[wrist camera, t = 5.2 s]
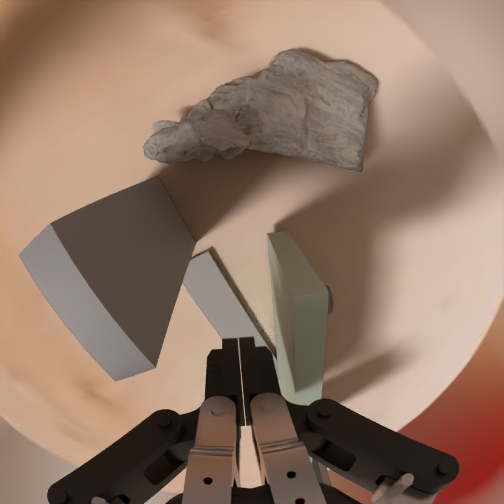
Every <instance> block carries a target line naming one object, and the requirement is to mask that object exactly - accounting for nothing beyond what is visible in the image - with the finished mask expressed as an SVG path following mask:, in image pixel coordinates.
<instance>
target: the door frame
mask: <svg viewBox="0 0 504 504" xmlns="http://www.w3.org/2000/svg"><path fill="white" fill-rule="evenodd" d="M195 245H196V241H195V240H194V238H193V236H192V235H191V233H190V231H189V229H188V228H187V226H186V224H185V223H184V221H183V219H182V218H181V216H180V214H179V212H178V211H177V209H176V207H175V206H174V204H173V202H172V200H171V199H170V197H169V195H168V193H167V192H166V190H165V188H164V186H163V184H162V183H161V181H160V179H159V177H158V176H157V177H155V178H152V179H149V180H147V181H144V182H141V183H139V184H136V185H134V186H131V187H129V188H126V189H124V190H121V191H119V192H116V193H114V194H112V195H109V196H107V197H105V198H102V199H100V200H98V201H96V202H93V203H91V204H89V205H87V206H85V207H83V208H80V209H78V210H76V211H74V212H72V213H70V214H68V215H66V216H64V217H62V218H60V219H58V220H56V221H54V222H52V223H50V224H49V225H48V226H47V227H46V228H45V229H44V230H43V231H42V232H41V233H40V234H39V235H38V236H37V237H36V238H35V239H33V240H32V241H31V243H30V244H29V245H28V246H27V247H26V248H25V249H24V250H23V251H22V252H21V253H20V254H19V257H20V259H21V260H22V262H23V264H24V266H25V267H26V269H27V271H28V272H29V274H30V275H31V277H32V279H33V280H34V282H35V283H36V285H37V286H38V288H39V289H40V291H41V292H42V294H43V295H44V297H45V298H46V300H47V301H48V303H49V304H50V305H51V307H52V308H53V310H54V311H55V312H56V314H57V315H58V316H59V318H60V319H61V320H62V322H63V323H64V324H65V325H66V327H67V328H68V329H69V331H70V332H71V333H72V334H73V335H74V337H75V338H76V339H77V340H78V341H79V343H80V344H81V345H82V346H83V347H84V349H85V350H86V351H87V352H88V353H89V354H90V355H91V356H92V358H93V359H94V360H95V361H96V362H97V363H98V364H99V365H100V366H101V367H102V368H103V369H104V370H105V371H106V372H107V373H108V374H109V376H110V377H111V378H112V379H113V380H114V381H118V380H121V379H125V378H128V377H131V376H134V375H137V374H140V373H143V372H146V371H149V370H151V369H154V368H156V365H157V362H158V358H159V355H160V352H161V348H162V345H163V341H164V338H165V335H166V332H167V328H168V325H169V322H170V319H171V316H172V312H173V309H174V306H175V303H176V300H177V297H178V294H179V291H180V288H181V285H182V283H183V285H184V286H185V288H186V289H187V291H188V292H189V294H190V295H191V297H192V298H193V300H194V301H195V302H196V304H197V305H198V307H199V308H200V310H201V311H202V312H203V314H204V315H205V317H206V318H207V319H208V321H209V322H210V323H211V325H212V326H213V328H214V329H215V330H216V332H217V333H218V334H219V336H220V337H221V338H238V349H239V361H240V363H241V360H240V348H239V337H251V336H254V340H255V347H258V346H266V347H267V348H268V349H269V350H270V351H271V352H272V350H271V349H270V347H269V346H268V344H267V343H266V341H265V340H264V338H263V337H262V335H261V333H260V332H259V330H258V329H257V327H256V326H255V324H254V323H253V321H252V319H251V318H250V316H249V315H248V313H247V312H246V310H245V308H244V307H243V305H242V304H241V302H240V300H239V299H238V297H237V296H236V294H235V292H234V291H233V289H232V288H231V286H230V284H229V283H228V281H227V280H226V278H225V276H224V275H223V273H222V271H221V270H220V268H219V266H218V265H217V263H216V261H215V260H214V258H213V257H212V255H211V253H210V252H209V250H207V251H205V252H203V253H201V254H199V255H197V256H195V257H193V258H191V256H192V253H193V251H194V248H195ZM272 355H273V360H274V364H275V369H276V373H277V377H278V364H277V358H276V356H275V355H274V353H273V352H272ZM278 382H279V379H278ZM312 466H313V469H314V471H315V474H316V477H317V480H318V482H320V483H324V484H327V485H330V486H332V485H331V482H330V478H329V474H328V471H327V467H326V466H324V465H322V464H321V463H319V462H318V461H316V460H314V459H312Z"/></svg>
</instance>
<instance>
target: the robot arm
mask: <svg viewBox="0 0 504 504" xmlns="http://www.w3.org/2000/svg"><path fill="white" fill-rule="evenodd" d="M239 348H240V360H241V372H242V383H243V394H244V405H245V416H246V426H249V425H251V429H252V440H253V445H254V449H255V454H256V458H257V463H258V467H259V472H260V477H261V483H262V486H259V487H255V488H242V487H241V485H240V439H241V427H240V426H245V419H244V408H243V397H242V385H241V373H240V361H239V349H238V338H222V349H213V350H211V352H210V353H209V355H208V356H207V367H206V385H205V400H204V402H203V403H202V405H201V406H200V407H199V408H198V409H196V410H195V411H192V412H189V413H186V414H182V415H179V414H178V413H177V412H175V411H173V410H169V409H163V410H158V411H156V412H154V413H153V414H151V415H150V416H149V417H148V418H146V419H145V420H144V421H142V422H141V423H140V424H139V425H137V426H136V427H135V428H133V429H132V430H131V431H129V432H128V433H127V434H125V435H124V436H123V437H121V438H120V439H119V440H117V441H116V442H114V443H113V444H112V445H110V446H109V447H108V448H106V449H105V450H103V451H102V452H101V453H99V454H98V455H96V456H95V457H93V458H92V459H91V460H89V461H88V462H86V463H85V464H83V465H82V466H80V467H79V468H77V469H76V470H74V471H73V472H71V473H70V474H68V475H67V476H65V477H64V478H62V479H61V480H59V481H57V482H56V483H54V484H53V485H52V486H51V487H50V488H49V490H48V493H47V497H48V501H49V503H50V504H144V503H145V502H146V501H148V500H149V499H150V498H151V497H152V496H154V495H155V494H156V493H157V492H158V491H160V490H161V489H162V488H163V487H164V486H166V485H167V484H168V483H169V482H170V481H171V480H172V479H174V478H175V477H176V476H177V475H178V474H179V473H180V472H181V471H182V470H183V469H185V468H186V467H187V470H186V477H185V484H184V491H183V493H181V494H179V495H177V496H175V497H173V498H172V499H170V500H169V501H168V502H167V503H166V504H362V503H360V502H358V501H356V500H354V499H353V498H351V497H349V496H348V495H346V494H344V493H342V492H341V491H340V490H338V489H336V488H334V487H332V486H330V485H327V484H324V483H320V482H318V480H317V477H316V474H315V471H314V469H313V466H312V463H311V461H310V458H309V456H310V457H311V458H313V459H314V460H316V461H318V462H319V463H321V464H322V465H324V466H326V467H327V468H329V469H331V470H332V471H334V472H336V473H338V474H339V475H341V476H343V477H345V478H346V479H349V480H350V481H352V482H354V483H356V484H358V485H359V486H361V487H363V488H365V489H367V490H369V491H371V492H373V493H372V502H373V504H432V502H433V500H434V499H435V497H436V495H437V493H438V492H439V491H440V490H441V489H443V488H444V487H445V486H447V485H448V484H449V483H451V482H452V481H453V480H454V479H455V478H456V476H457V474H458V472H459V463H458V461H457V460H456V458H455V457H453V456H452V455H450V454H447V453H444V452H442V451H439V450H437V449H434V448H432V447H429V446H427V445H424V444H422V443H419V442H417V441H415V440H413V439H410V438H408V437H406V436H403V435H401V434H399V433H397V432H395V431H393V430H391V429H388V428H386V427H384V426H382V425H380V424H378V423H376V422H374V421H372V420H370V419H368V418H366V417H364V416H362V415H360V414H358V413H356V412H354V411H352V410H350V409H349V408H347V407H345V406H343V405H341V404H339V403H337V402H336V401H333V400H331V399H318V400H316V401H314V402H312V403H311V404H310V405H309V406H308V405H298V404H294V403H291V402H289V401H287V400H286V399H285V398H284V397H283V396H282V394H281V391H280V386H279V382H278V377H277V373H276V369H275V364H274V360H273V355H272V352H271V351H270V350H269V349H268V348H267V347H266V346H258V347H255V340H254V336H251V337H239Z"/></svg>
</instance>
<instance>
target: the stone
mask: <svg viewBox="0 0 504 504" xmlns="http://www.w3.org/2000/svg"><path fill="white" fill-rule="evenodd" d="M269 67H270V68H269V69H266V70H263V71H262V72H259V73H257V74H255V75H253V76H244V77H241V78H237V79H234V80H232V81H231V82H229V83H226V84H224V85H221V86H219V87H217V88H216V90H215V91H214V92H213V93H211V94H210V97H209V98H207V99H204V100H201V101H200V102H199V103H198V104H196V105H195V106H193V108H192V110H191V111H190V112H189V114H188V115H187V116H185V117H183V118H181V120H180V122H173V121H162V120H161V121H158V122H156V123H155V124H153V125H152V126H151V129H152V130H153V133H154V134H153V135H152V136H151V137H150V138H149V139H148V140H147V142H146V143H145V144H144V146H143V148H144V154H145V156H146V158H150V159H151V160H157V161H158V162H161V163H166V164H172V163H176V162H181V161H190V160H192V159H195V158H196V159H198V160H200V161H201V162H204V161H209V160H210V159H211V158H212V157H213V156H216V155H218V156H220V157H223V158H226V159H232V158H233V157H235V156H236V155H237V154H240V153H242V152H243V151H244V150H245V149H251V150H257V151H262V152H266V153H277V154H281V155H285V156H289V157H292V156H297V157H303V158H306V159H309V160H313V161H316V162H319V163H323V164H328V165H333V166H337V167H342V168H347V169H350V170H356V171H359V172H361V171H362V169H363V154H364V144H365V138H366V133H367V122H368V103H370V102H371V101H372V99H373V98H374V97H375V91H376V88H377V86H378V83H377V80H376V79H375V78H374V77H373V76H372V75H370V74H369V73H367V72H364V71H362V70H360V69H359V68H358V67H356V66H355V65H353V64H349V63H346V62H345V61H335V62H327V61H322V60H320V59H318V58H316V57H314V56H311V55H309V54H306V53H302V52H300V51H298V50H295V49H290V50H286V51H282V52H280V53H278V54H277V55H276V56H275V57H273V58H272V59H271V62H270V64H269Z"/></svg>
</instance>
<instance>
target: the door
mask: <svg viewBox="0 0 504 504" xmlns="http://www.w3.org/2000/svg"><path fill="white" fill-rule="evenodd" d="M267 239H268V250H269V261H270V273H271V285H272V297H273V310H274V323H275V336H276V350H277V364H278V379H279V386H280V391H281V394H282V396H283V397H284V398H285V399H286V400H287V401H289V402H291V403H294V404H298V405H308V406H309V405H310V404H311V403H312V402H314V401H316V400H318V399H321V396H322V386H323V376H324V365H325V353H326V339H327V322H328V314H331V313H332V310H333V299H332V294H331V291H330V288H329V287H328V286H327V285H326V286H325V285H324V283H323V282H322V280H321V279H320V277H319V276H318V274H317V272H316V271H315V269H314V268H313V266H312V265H311V263H310V262H309V260H308V259H307V257H306V256H305V254H304V253H303V251H302V250H301V248H300V247H299V246H298V244H297V243H296V241H295V240H294V238H293V237H292V235H291V234H290V232H289V231H281V232H272V233H267ZM309 458H310V461H311V463H312V459H313V458H311V457H310V456H309Z"/></svg>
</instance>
